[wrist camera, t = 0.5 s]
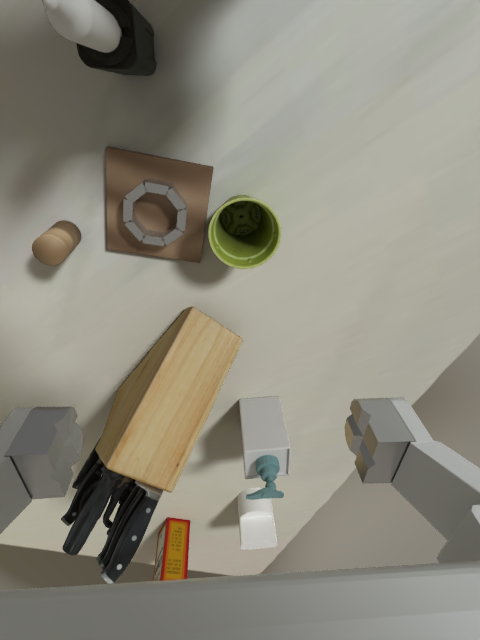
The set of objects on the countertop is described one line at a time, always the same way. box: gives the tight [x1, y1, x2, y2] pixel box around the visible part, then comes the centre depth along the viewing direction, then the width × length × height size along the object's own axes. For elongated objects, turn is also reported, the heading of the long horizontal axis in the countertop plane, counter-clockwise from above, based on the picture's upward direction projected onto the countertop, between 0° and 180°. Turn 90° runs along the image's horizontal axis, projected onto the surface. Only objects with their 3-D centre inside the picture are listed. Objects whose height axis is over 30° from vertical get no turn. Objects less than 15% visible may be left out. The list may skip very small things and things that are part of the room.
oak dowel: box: [32, 221, 81, 266], centre depth 49 cm, size 4×4×7 cm
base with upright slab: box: [238, 488, 278, 550], centre depth 89 cm, size 9×9×12 cm
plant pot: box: [208, 195, 281, 269], centre depth 48 cm, size 9×9×9 cm
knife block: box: [61, 307, 243, 584], centre depth 55 cm, size 11×35×31 cm, turn 140°
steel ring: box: [123, 178, 188, 246], centre depth 48 cm, size 8×8×2 cm
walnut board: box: [106, 147, 213, 263], centre depth 50 cm, size 14×14×1 cm
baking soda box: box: [153, 517, 190, 581], centre depth 93 cm, size 10×6×16 cm
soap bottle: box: [239, 396, 291, 500], centre depth 67 cm, size 9×9×19 cm
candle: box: [42, 0, 156, 76], centre depth 30 cm, size 5×5×25 cm
